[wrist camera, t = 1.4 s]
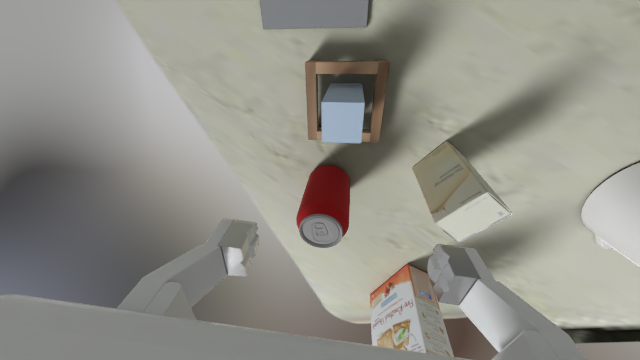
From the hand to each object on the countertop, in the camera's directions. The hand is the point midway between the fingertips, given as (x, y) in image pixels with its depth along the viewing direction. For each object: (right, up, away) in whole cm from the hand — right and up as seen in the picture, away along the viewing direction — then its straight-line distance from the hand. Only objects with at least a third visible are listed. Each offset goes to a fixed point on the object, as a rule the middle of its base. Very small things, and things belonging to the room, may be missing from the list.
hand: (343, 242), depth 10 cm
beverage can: (+1, +3, +27) cm, 28 cm away
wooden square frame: (+2, +14, +20) cm, 24 cm away
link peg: (+2, +14, +20) cm, 24 cm away
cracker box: (+16, -20, +40) cm, 47 cm away
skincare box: (+16, +5, +23) cm, 29 cm away
